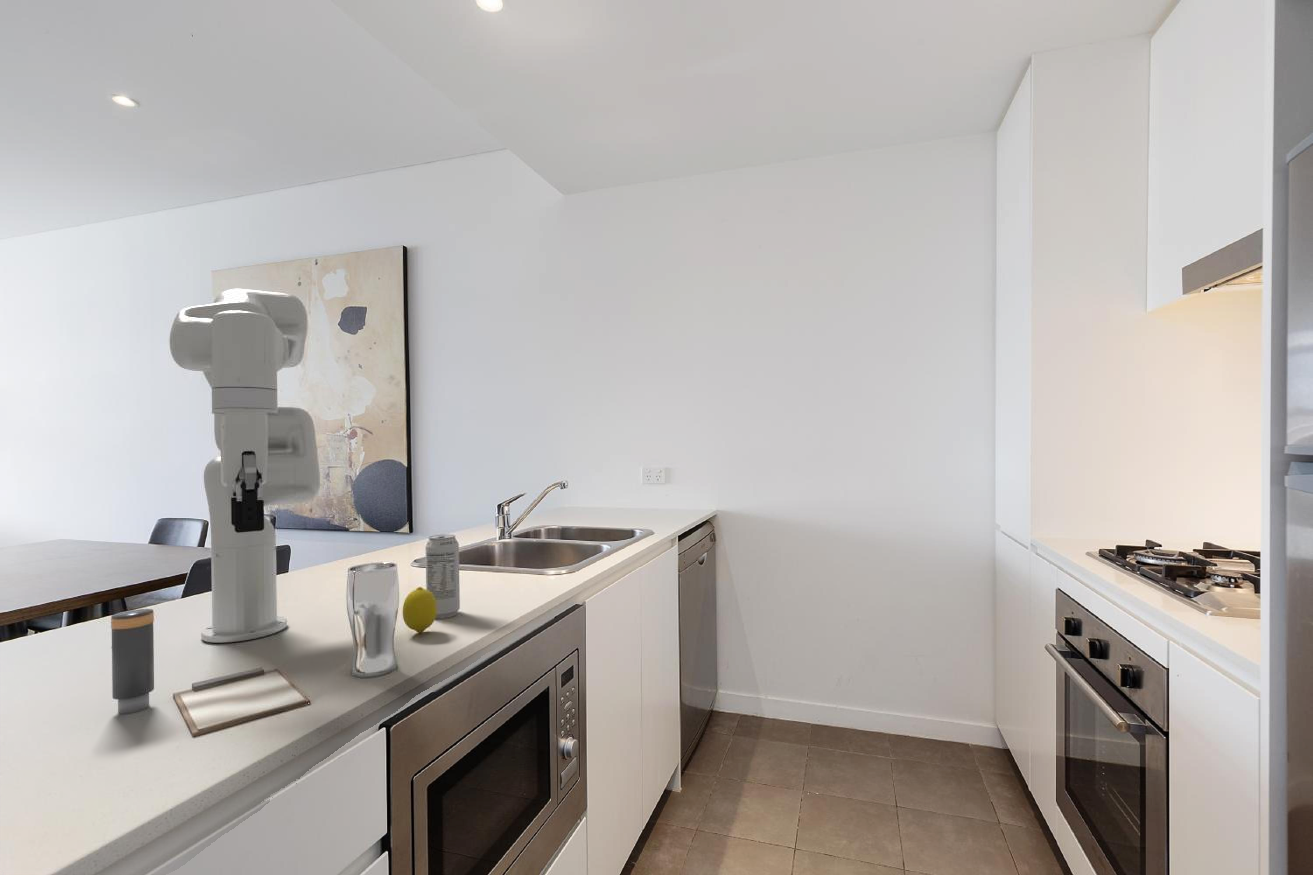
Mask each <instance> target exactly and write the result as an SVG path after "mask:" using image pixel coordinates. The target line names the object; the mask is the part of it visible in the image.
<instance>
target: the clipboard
mask: <svg viewBox="0 0 1313 875" xmlns="http://www.w3.org/2000/svg"><path fill="white" fill-rule="evenodd" d="M172 698H173V700H174V702H175V703H176V706H177V707H178V710H179V712H180V714H181V716H182V718H183V720H184V722H185V723H186V726H187V728H188V730H189V732H190V734H191V736H192V738H194V737H197V736H199V735H200V736H201V735H204V734H206V733H207V734H208V733H210V732H214V731H218V730H221V729H225V728H229V727H232V726H235V725H240V724H243V723H247V722H250V721H253V720H257V719H260V718H261V719H262V718H263V717H264V718H265V717H268V716H271V715H274V714H278V713H281V712H286V711H289V710H292V709H296V708H299V706H300V707H303V706H306V705H305V704H307V705H309V704H308V703H310V704H311V700H310V699H309V697H308V696H306V695H305V693H303V691H301V690H300V688H298V687H297V686H296V685H295V684H294V683H293V681H291V680H290V679H289V678H288V677H287V676H286V675H285V674H283V672H282V671H281V670H279V669H278V668H275V669H270V670H265V669H264V668H263V667H262V666H261V667H257V668H252V669H248V670H244V671H241V672H235V673H231V674H226V675H223V676H218V677H214V678H211V679H205V680H200V681H197V682H193V683H191V689H186V690H183V691H179V692H174V693H172Z"/></svg>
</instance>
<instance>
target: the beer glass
mask: <svg viewBox="0 0 1313 875" xmlns="http://www.w3.org/2000/svg"><path fill="white" fill-rule="evenodd" d="M346 578H347V579H346V595H345V597H346V610H347V616H348V622H349V628H350V631H351V636H352V641H353V658H352V664H351V669H350V674H351V675H352V676H353V677H355V678H361V679H362V678H366V679H367V678H374V677H375V678H376V677H380V676H384V675H388V674H389V673H391V672H393V671H394V670H396V668H397V667H398V664H397V659H396V658H397V657H396V652H395V644H394V642H395V640H394V639H395V631H396V625H397V620H398V612H399V604H400V587H399V586H400V585H399V574H398V564H397V563H396V562H395V563H394V562H389V561H388V562H387V561H385V562H384V561H382V562H381V561H380V562H370V563H369V562H368V563H362V564H357V565H353V566H351V567H349V568H347V577H346Z"/></svg>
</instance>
